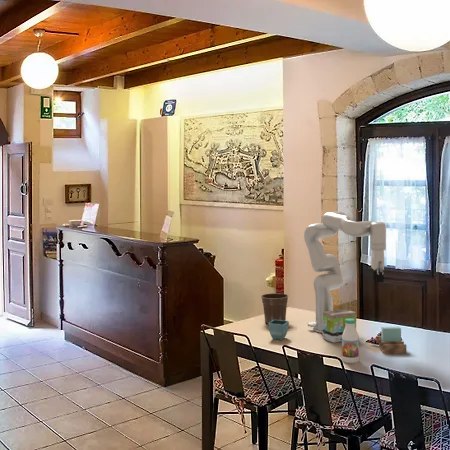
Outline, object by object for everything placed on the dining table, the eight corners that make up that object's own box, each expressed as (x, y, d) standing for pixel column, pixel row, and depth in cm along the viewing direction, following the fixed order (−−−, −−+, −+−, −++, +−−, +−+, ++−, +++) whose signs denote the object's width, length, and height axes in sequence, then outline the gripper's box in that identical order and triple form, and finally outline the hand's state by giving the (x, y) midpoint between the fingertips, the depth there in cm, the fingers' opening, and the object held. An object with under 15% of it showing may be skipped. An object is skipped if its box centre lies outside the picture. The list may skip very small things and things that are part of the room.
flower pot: (289, 337, 330) (289, 320, 330) (283, 341, 322) (283, 324, 322) (274, 335, 334) (273, 319, 333) (268, 339, 326) (268, 323, 325)
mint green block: (382, 348, 303) (382, 328, 302) (381, 346, 306) (381, 326, 305) (401, 348, 303) (401, 328, 302) (399, 346, 306) (399, 326, 305)
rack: (383, 353, 297) (383, 345, 296) (376, 344, 313) (376, 336, 312) (406, 353, 296) (406, 344, 296) (398, 344, 312) (398, 335, 312)
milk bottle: (340, 359, 290) (339, 317, 289) (355, 358, 291) (355, 317, 289) (344, 364, 283) (344, 321, 281) (360, 363, 283) (360, 320, 281)
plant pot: (262, 318, 372) (262, 292, 371) (289, 319, 370) (288, 292, 369) (260, 325, 356) (260, 298, 355) (288, 326, 354) (287, 298, 353)
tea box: (334, 343, 317) (333, 315, 315) (322, 338, 326) (322, 311, 324) (356, 339, 324) (356, 311, 322) (344, 334, 332) (344, 308, 331)
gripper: (367, 244, 316) (367, 277, 317) (373, 249, 299) (373, 283, 300) (382, 244, 316) (382, 277, 317) (389, 248, 298) (389, 283, 300)
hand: (378, 280), depth 309 cm, fingers open, 9 cm apart
